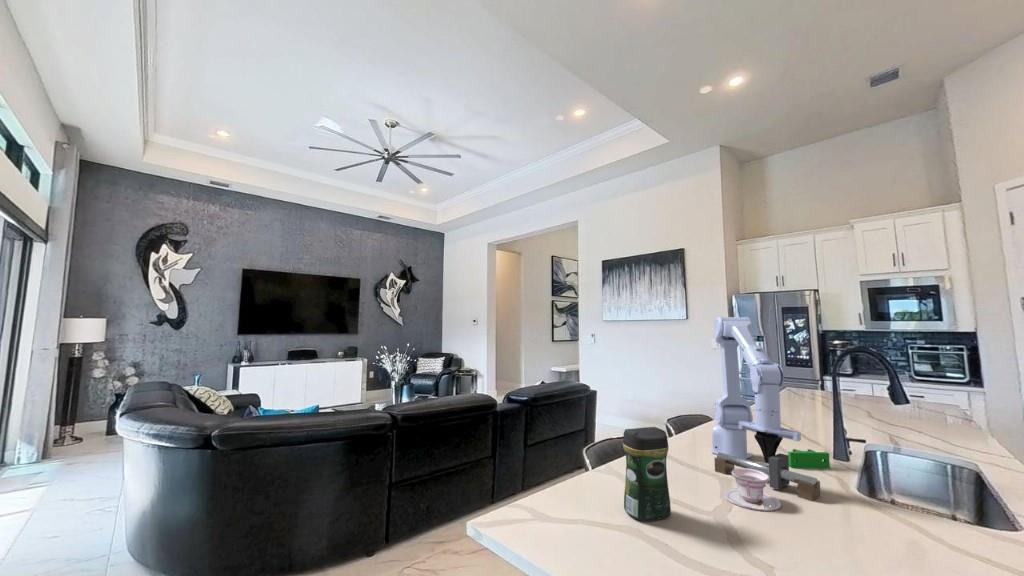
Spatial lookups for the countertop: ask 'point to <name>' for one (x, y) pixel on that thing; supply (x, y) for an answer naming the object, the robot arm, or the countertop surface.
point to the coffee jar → (646, 474)
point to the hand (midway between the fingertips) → (769, 462)
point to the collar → (778, 470)
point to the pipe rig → (806, 484)
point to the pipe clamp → (808, 459)
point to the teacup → (751, 490)
